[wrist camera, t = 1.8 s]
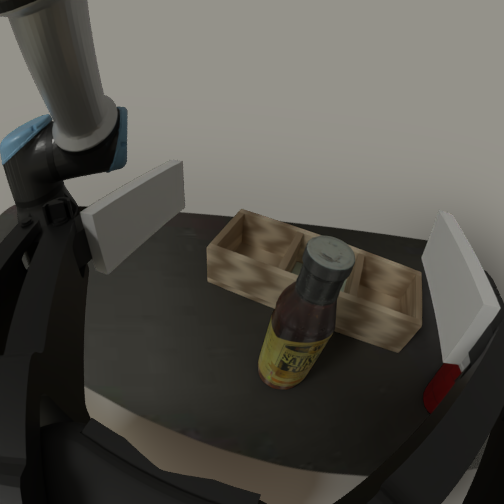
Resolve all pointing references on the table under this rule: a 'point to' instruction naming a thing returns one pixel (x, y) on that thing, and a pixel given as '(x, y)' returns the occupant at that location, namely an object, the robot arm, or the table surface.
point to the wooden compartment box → (288, 269)
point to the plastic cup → (442, 383)
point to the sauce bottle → (305, 313)
